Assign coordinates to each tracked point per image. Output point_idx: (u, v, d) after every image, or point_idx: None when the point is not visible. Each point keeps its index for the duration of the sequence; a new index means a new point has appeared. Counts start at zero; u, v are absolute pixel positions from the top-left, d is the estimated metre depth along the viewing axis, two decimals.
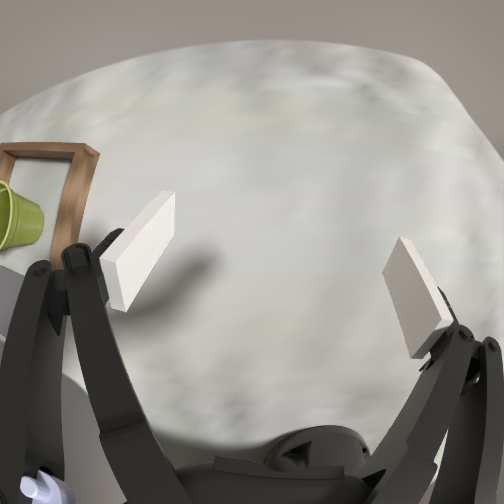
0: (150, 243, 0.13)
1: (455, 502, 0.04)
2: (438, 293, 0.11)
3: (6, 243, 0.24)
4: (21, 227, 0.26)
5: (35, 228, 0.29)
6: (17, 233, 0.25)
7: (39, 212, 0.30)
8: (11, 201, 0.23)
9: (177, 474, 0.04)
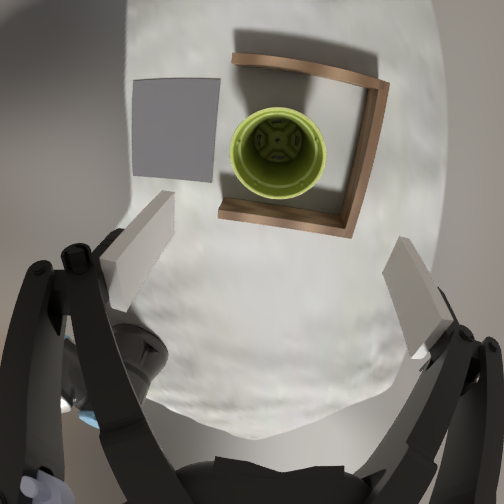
0: (150, 243, 0.13)
1: (455, 502, 0.04)
2: (438, 293, 0.11)
3: (248, 178, 0.28)
4: None
5: None
6: (261, 179, 0.30)
7: (290, 162, 0.33)
8: (296, 195, 0.28)
9: (177, 474, 0.04)
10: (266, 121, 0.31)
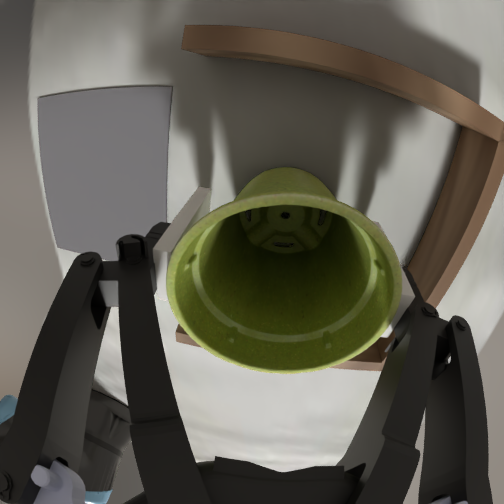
0: None
1: (446, 491, 0.04)
2: (401, 271, 0.12)
3: (217, 329, 0.13)
4: None
5: None
6: (247, 318, 0.15)
7: (306, 260, 0.18)
8: (313, 369, 0.13)
9: (200, 473, 0.05)
10: None
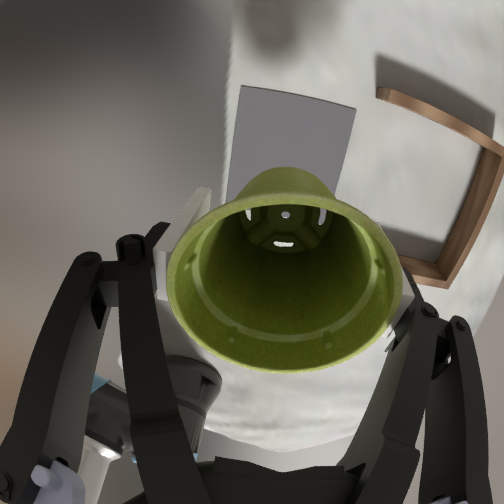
0: None
1: (446, 491, 0.04)
2: None
3: (217, 329, 0.13)
4: None
5: None
6: (247, 317, 0.15)
7: (306, 259, 0.18)
8: (314, 369, 0.13)
9: (200, 473, 0.05)
10: None
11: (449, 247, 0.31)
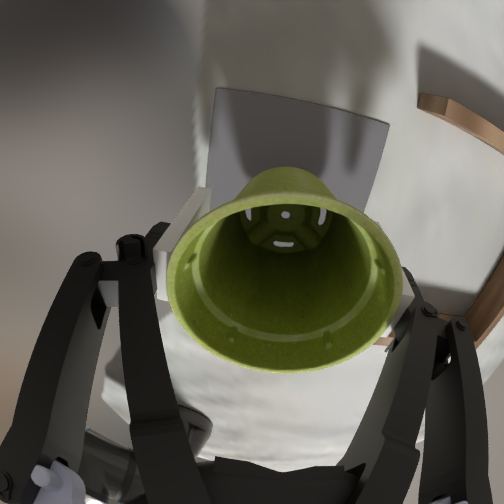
0: None
1: (446, 491, 0.04)
2: None
3: (217, 329, 0.13)
4: None
5: None
6: (247, 317, 0.15)
7: (306, 259, 0.18)
8: (314, 369, 0.13)
9: (200, 473, 0.05)
10: None
11: (483, 300, 0.22)
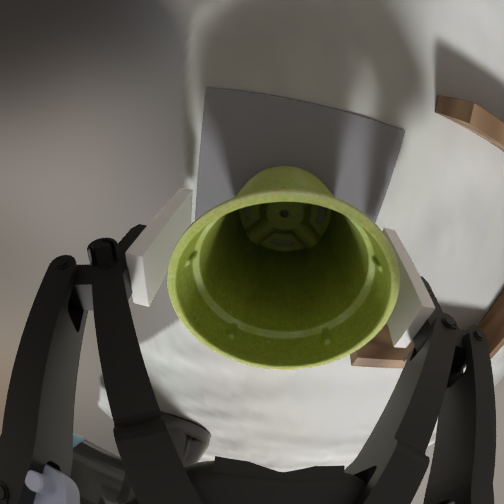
0: (171, 239, 0.13)
1: (451, 496, 0.04)
2: (420, 282, 0.11)
3: (217, 325, 0.14)
4: None
5: None
6: (246, 314, 0.15)
7: (305, 257, 0.18)
8: (312, 365, 0.13)
9: (188, 473, 0.05)
10: None
11: (493, 316, 0.20)
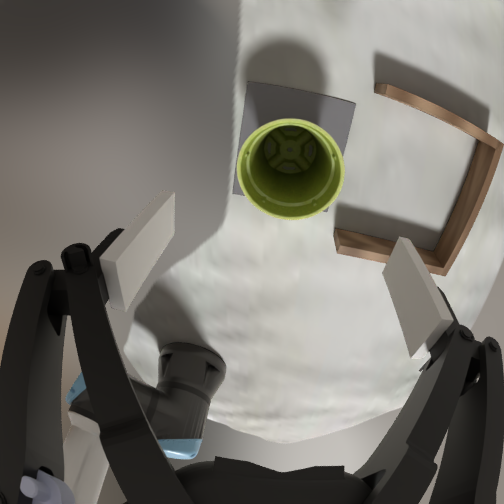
0: (150, 243, 0.13)
1: (455, 502, 0.04)
2: (438, 293, 0.11)
3: (256, 195, 0.26)
4: None
5: None
6: (270, 195, 0.27)
7: (302, 175, 0.31)
8: (308, 216, 0.26)
9: (177, 474, 0.04)
10: (278, 128, 0.29)
11: (446, 235, 0.32)
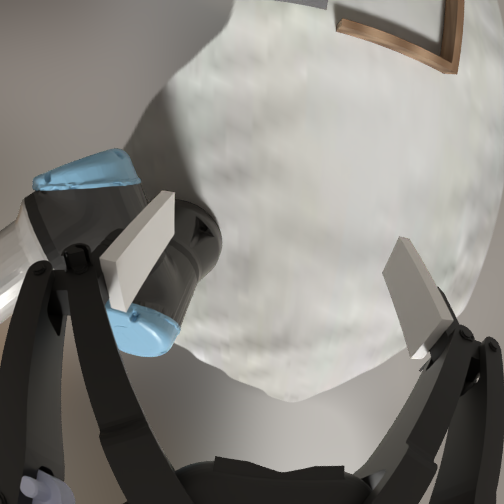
0: (150, 243, 0.13)
1: (455, 502, 0.04)
2: (438, 293, 0.11)
3: None
4: None
5: None
6: None
7: None
8: None
9: (177, 474, 0.04)
10: None
11: (444, 44, 0.23)
